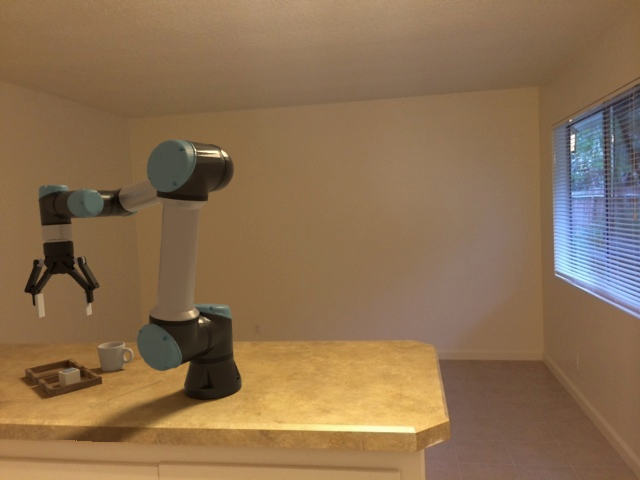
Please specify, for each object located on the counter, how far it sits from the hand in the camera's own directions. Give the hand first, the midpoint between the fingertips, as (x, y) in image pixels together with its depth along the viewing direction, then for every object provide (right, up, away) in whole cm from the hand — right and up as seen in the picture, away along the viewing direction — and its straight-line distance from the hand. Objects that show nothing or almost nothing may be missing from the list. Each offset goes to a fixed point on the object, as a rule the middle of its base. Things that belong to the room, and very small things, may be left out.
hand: (64, 316), depth 139 cm
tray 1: (-8, -20, +11) cm, 24 cm away
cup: (+9, -19, +14) cm, 25 cm away
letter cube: (+1, -20, +1) cm, 20 cm away
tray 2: (+1, -20, +1) cm, 20 cm away
